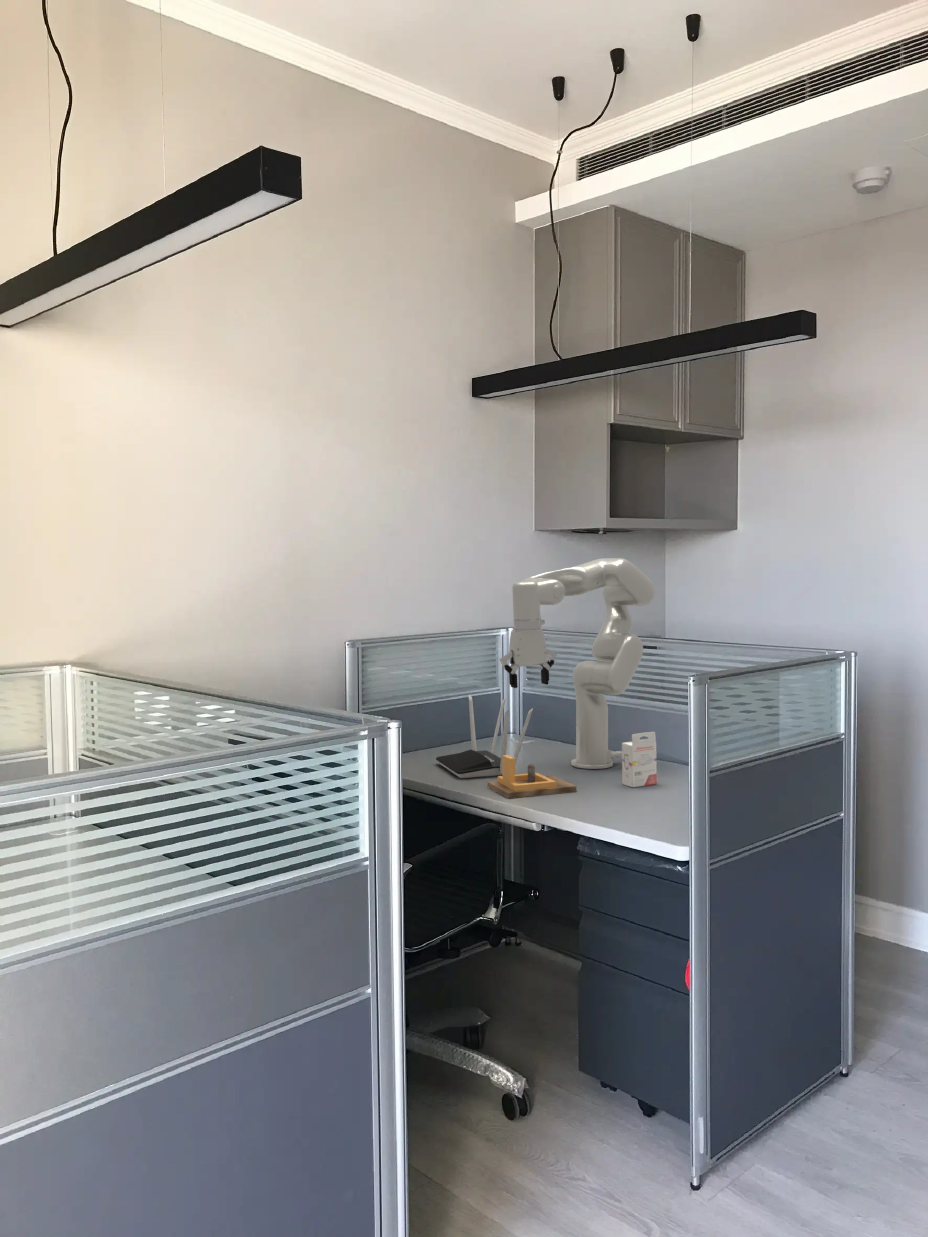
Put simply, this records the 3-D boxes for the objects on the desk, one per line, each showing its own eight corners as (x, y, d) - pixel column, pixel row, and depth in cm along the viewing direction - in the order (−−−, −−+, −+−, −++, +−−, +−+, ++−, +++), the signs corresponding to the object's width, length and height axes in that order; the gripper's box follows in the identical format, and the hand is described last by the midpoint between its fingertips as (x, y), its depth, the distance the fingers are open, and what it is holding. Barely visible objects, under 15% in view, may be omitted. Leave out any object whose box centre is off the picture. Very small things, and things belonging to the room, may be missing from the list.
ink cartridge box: (645, 780, 277) (646, 728, 276) (657, 784, 272) (657, 731, 271) (621, 784, 273) (621, 731, 272) (632, 787, 268) (632, 734, 267)
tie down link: (537, 778, 274) (537, 749, 274) (556, 787, 263) (556, 757, 263) (497, 781, 270) (497, 752, 270) (515, 791, 259) (515, 761, 258)
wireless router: (429, 761, 306) (429, 697, 305) (499, 755, 313) (499, 693, 312) (463, 784, 274) (463, 713, 273) (540, 778, 281) (540, 708, 280)
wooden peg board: (553, 780, 277) (553, 756, 277) (576, 791, 264) (576, 765, 264) (487, 787, 270) (487, 762, 270) (508, 798, 257) (507, 772, 257)
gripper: (548, 621, 283) (550, 680, 284) (493, 626, 276) (496, 687, 278) (560, 623, 276) (563, 684, 277) (504, 628, 269) (507, 690, 271)
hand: (529, 685), depth 277 cm, fingers open, 9 cm apart
